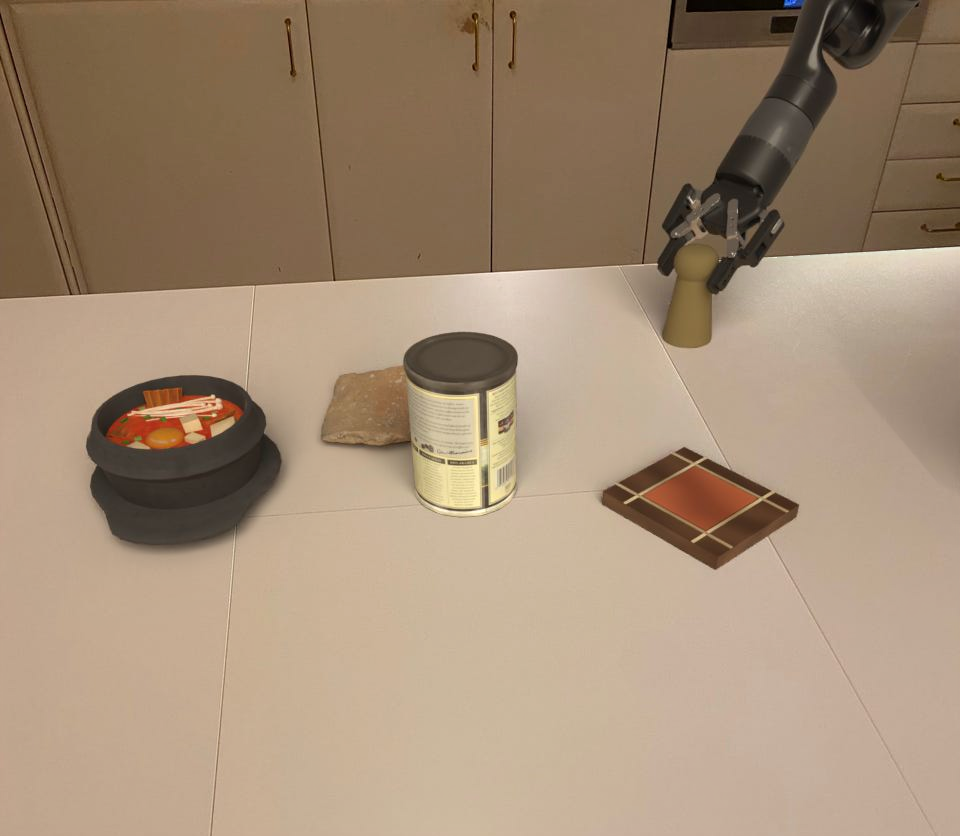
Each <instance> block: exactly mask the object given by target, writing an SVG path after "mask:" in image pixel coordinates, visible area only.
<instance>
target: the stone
mask: <svg viewBox="0 0 960 836" xmlns="http://www.w3.org/2000/svg"><path fill="white" fill-rule="evenodd" d="M324 415H325V416H324V420H323V423H322V426H321V434H320V440H322V441H323V442H326V443H339V444H351V445H353V444H361V443H362V444H365V445H368V446H378V447H379V446H386V445H390V444H397V443H403V442H404V443H405V442H411V432H410V420H409V407H408V395H407V383H406V372H405V369H404V364H403V365H397V366H390V367H387V368H384V369H375V370H369V371H365V372H360V373H356V372H349V373H344V374H341V375H339V376H338V378H337V379H336V381H335V383H334V388H333V396H332V398H331V401H330V403H329V405H328V408H327V409H326V413H325V414H324Z"/></svg>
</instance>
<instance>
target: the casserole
mask: <svg viewBox="0 0 960 836" xmlns="http://www.w3.org/2000/svg"><path fill="white" fill-rule="evenodd" d="M266 417H267V415H266V414H265V413H264V410H263V409H262V407H261V406H260V405H259V404H257V403H256V402H255V401H254V400H253V399H252V397H251V395H250V394H249V392H248V391H247V390H245V388H244V387H242V386H241V385H239V384H237V383H236V382H234V381H231V380H227V379H226V378H221V377H217V376H212V375H199V374H183V375H181V374H180V375H174V376H171V375H170V376H165V377H160V378H155V379H154V378H153V379H150V380H147V381H144V382H140V383H137V384H134V385H132V386H130V387H126V388H124V389H123V390H121V391H119V392H117V393H116V394H114V395H112V396H111V397H109V398H107V400H105V401H104V402H103V403H102V404H101V405H100V406H99V407H98V408H97V409H96V411H95V412H94V414H93V415H92V418H91V425H90V430H89V433H88V435H87V437H86V443H85V449H86V452H87V456H88V457H89V459H90V460H91V461H92V463H94V464H95V465H96V466H95V468H94V470H93V472H92V474H91V476H90V483H89V488H90V489H89V490H90V492H91V496H92V498H93V499H94V501H95V502H96V503H97V505H98V506H99V507H100V509H101V510H102V512H103V513H104V514H105V517H106V521H107V525H108V527H109V530H110V532H111V534H112V535H113V536H115V537H116V538H118V539H119V540H121V541H125V542H128V543H132V544H140V545H149V546H157V545H160V546H162V545H163V546H164V545H178V544H179V545H180V544H184V543H185V544H186V543H192V542H197V541H201V540H205V539H209V538H213V537H216V536H219V535H221V534H223V533H227V532H229V531H230V530H232V529H233V528H235V527H236V526H238V525H239V524H240V523H241V522H242V520H243V519H244V518H245V516H246V515H247V514H248V512H249V510H250V508H251V507H252V505H253V503H254V502H255V501H256V500H257V499H258V498H259V497H260V496H261V495H262V494H263V493H264V492H265V491H266V490H267V489H268V488H269V487H270V486H271V485H272V484H273V483H274V481H275V480H276V478H277V477H278V475H279V473H280V470H281V467H282V461H283V460H282V454H281V451H280V449H279V448H278V446H277V444H276V442H274V441H273V439H271V438H270V437H269V436H268V435H267V434H266V433H265V430H266V428H267V418H266Z"/></svg>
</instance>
